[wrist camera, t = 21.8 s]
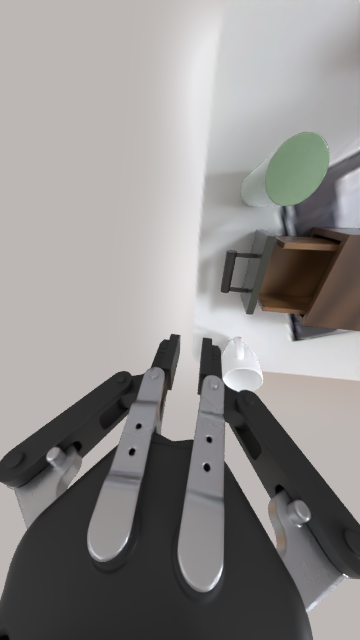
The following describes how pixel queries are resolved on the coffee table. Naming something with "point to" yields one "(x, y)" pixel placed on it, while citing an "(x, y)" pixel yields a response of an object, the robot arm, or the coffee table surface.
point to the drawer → (281, 271)
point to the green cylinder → (288, 172)
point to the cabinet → (337, 284)
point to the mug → (240, 367)
